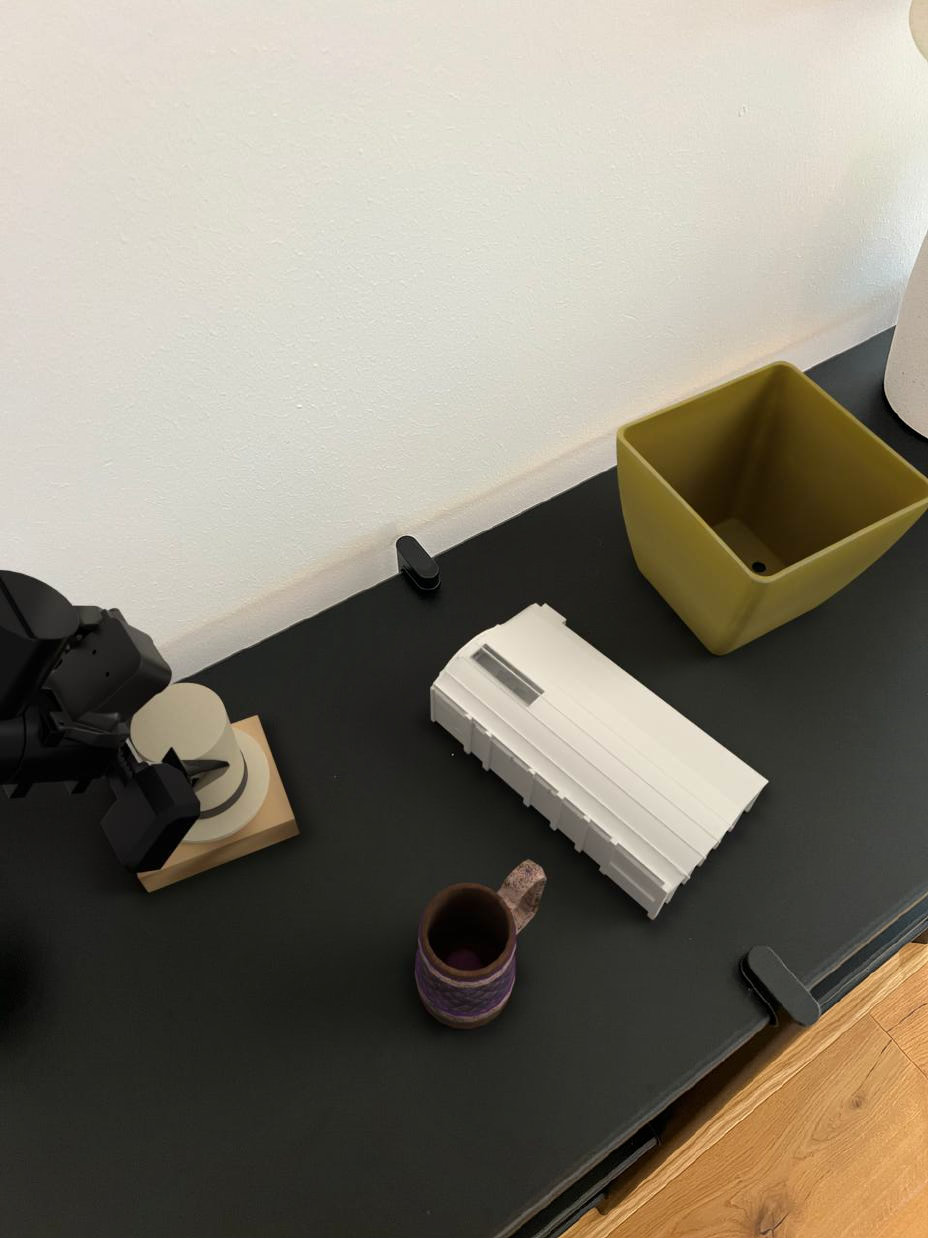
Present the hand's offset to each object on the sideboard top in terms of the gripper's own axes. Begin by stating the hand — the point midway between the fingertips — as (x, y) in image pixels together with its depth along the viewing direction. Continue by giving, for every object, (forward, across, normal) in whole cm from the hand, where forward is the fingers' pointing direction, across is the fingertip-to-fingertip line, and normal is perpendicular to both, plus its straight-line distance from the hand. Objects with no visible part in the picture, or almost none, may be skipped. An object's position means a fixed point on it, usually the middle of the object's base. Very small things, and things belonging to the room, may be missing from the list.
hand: (204, 733), depth 70 cm
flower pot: (+41, -8, -27) cm, 50 cm away
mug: (+13, -23, +1) cm, 27 cm away
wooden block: (+5, 0, +8) cm, 10 cm away
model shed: (+26, -15, -12) cm, 32 cm away
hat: (+4, 0, +6) cm, 7 cm away
